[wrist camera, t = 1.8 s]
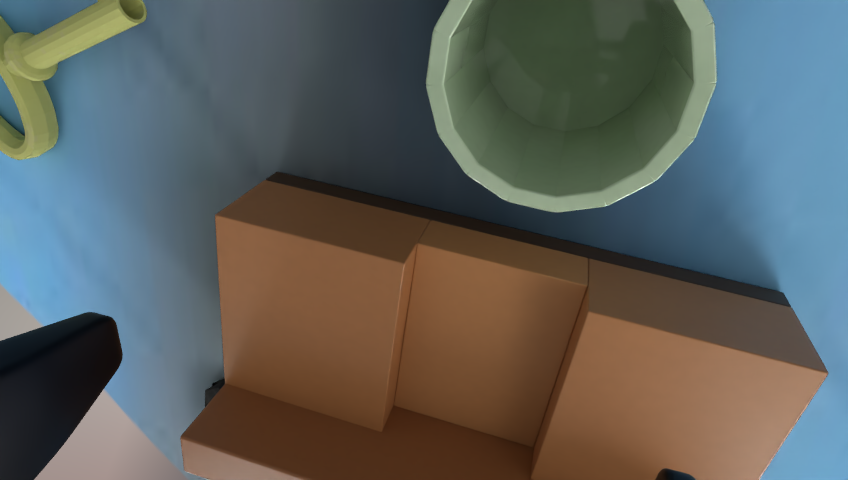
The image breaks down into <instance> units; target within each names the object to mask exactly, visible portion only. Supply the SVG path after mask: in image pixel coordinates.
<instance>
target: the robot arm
mask: <svg viewBox="0 0 848 480" xmlns="http://www.w3.org/2000/svg"><path fill="white" fill-rule="evenodd" d="M122 355H123V354H122V348H121V343H120V339H119V334H118V329H117V325H116V322H115V321H114V319H113V318H111V317H109V316H105V315H102V314H98V313H94V312H87V313H83V314H80V315H77V316H74V317H71V318H68V319H65V320H62V321H59V322H56V323H53V324H50V325H47V326H44V327H41V328H38V329H35V330H32V331H29V332H26V333H23V334H20V335H17V336H14V337H11V338H8V339H5V340H2V341H0V480H34V479H35V478H36V477H37V475H38V474H39V473H40V472H41V471H42V470H43V468H44V467H45V466H46V465H47V464H48V463H49V461H50V460H51V459H52V458H53V457H54V456H55V454H56V453H57V452H58V451H59V449H60V448H61V447H62V446H63V445H64V443H65V442H66V441H67V439H68V438H69V437H70V435H71V434H72V433H73V431H74V430H75V428H76V427H77V425H78V424H79V423H80V421H81V420H82V419H83V417H84V416H85V414H86V413H87V412H88V410H89V409H90V407H91V406H92V404H93V403H94V402H95V400H96V399H97V397H98V396H99V395H100V393H101V392H102V390H103V389H104V388H105V386H106V385H107V383H108V382H109V381H110V379H111V378H112V376H113V375H114V374H115V372H116V371H117V369H118V368H119V366H120V364H121V361H122ZM655 480H696V479H695V478H694V477H693V476H691V475H690V474H687V473H683V472H679V471H676V470H672V469H668V468H664V469H662V470H661V471H660V472H659V473H658V475H657V477H656V479H655Z"/></svg>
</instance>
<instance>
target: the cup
mask: <svg viewBox="0 0 848 480" xmlns="http://www.w3.org/2000/svg"><path fill="white" fill-rule="evenodd" d="M713 21H714V20H713V17H712V15H711V13H710V11H709V10H708V8H707V6H706V4H705V2H704V0H449V2H448V3H447V5H446V7H445V9H444V11H443V13H442V14H441V16H440V18H439V20H438V22H437V23H436V25H435V27H434V31H433V33H432V39H431V47H430V54H429V62H428V69H427V77H426V84H427V85H426V89H427V93H428V97H429V101H430V105H431V109H432V113H433V117H434V121H435V125H436V129H437V133H438V134H439V137H440V138H441V140H442V141H443V143H444V144H445V145H446V147H447V148H448V150H449V151H450V152H451V154H452V155H453V157H454V158H455V160H456V161H457V162H458V164H459V165H460V167H461V168H462V170H463V171H464V172H465V173H466V174H467V175H468V176H469V177H471V178H472V179H474V180H475V181H477V182H478V183H480V184H481V185H483V186H484V187H486V188H487V189H489V190H490V191H492V192H493V193H495V194H496V195H498V196H499V197H501V198H502V199H504V200H505V201H508V202H511V203H515V204H519V205H524V206H528V207H532V208H537V209H541V210H545V211H550V212H565V211H573V210H581V209H589V208H597V207H605V206H606V205H607V206H608V205H610V204H612V203H614V202H616V201H618V200H620V199H622V198H624V197H626V196H628V195H630V194H632V193H634V192H636V191H638V190H640V189H642V188H644V187H646V186H648V185H650V184H652V183H654V182H655V180H658V179H659V178H660V177H661V175H662V174H663V173H664V172H665V171H666V170H667V169H668V168H669V167H670V166H671V165H672V164H673V162H674V161H675V160H676V159H677V158H678V157H679V156H680V155H681V154H682V153H683V152H684V151H685V149H686V148H687V147H688V146H689V145H690V144H691V143H692V142H693V141H694V138H695V137H696V136H697V133H698V131H699V128H700V126H701V123H702V120H703V118H704V115H705V113H706V110H707V108H708V105H709V102H710V100H711V97H712V95H713V92H714V90H715V87H716V83H715V82H716V81H717V66H716V41H715V23H714V22H713Z"/></svg>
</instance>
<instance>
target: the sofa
mask: <svg viewBox="0 0 848 480" xmlns="http://www.w3.org/2000/svg"><path fill="white" fill-rule="evenodd" d="M215 224H216V241H217V258H218V274H219V291H220V308H221V325H222V342H223V358H224V375H225V384H224V386H223V387H222V388H221V389H220V390H219V392H218V393H217V394H216V395H215V396H214V397H213V399H212V400H211V401H210V402H209V403H208V405H207V406H206V407H205V408H204V409H203V410H202V412H201V413H200V414H199V415H198V416H197V418H196V419H195V420H194V421H193V422H192V424H191V425H190V426H189V427H188V428H187V429H186V431H185V432H184V433H183V434H182V435H181V438H180V439H181V447H182V456H183V464H184V470H185V471H186V472H189V473H191V474H194V475H197V476H200V477H203V478H206V479H209V480H655V479H656V477H657V475H658V473H659V472H660V471H661V470H662V469H664V468H668V469H672V470H676V471H679V472H683V473H687V474H690V475H691V476H693V477H694V478H695V479H696V480H759V479H760V478H761V476H762V475H763V473H764V472H765V470H766V468H767V467H768V465H769V464H770V462H771V461H772V459H773V458H774V456H775V455H776V453H777V452H778V450H779V449H780V447H781V446H782V444H783V442H784V441H785V439H786V438H787V436H788V435H789V433H790V432H791V430H792V429H793V427H794V426H795V424H796V423H797V421H798V420H799V418H800V416H801V415H802V413H803V412H804V410H805V409H806V407H807V406H808V404H809V403H810V401H811V400H812V398H813V397H814V395H815V394H816V392H817V390H818V389H819V387H820V386H821V384H822V383H823V381H824V380H825V378H826V377H827V375H828V371H827V369H826V367H825V365H824V364H823V362H822V360H821V358H820V357H819V355H818V353H817V351H816V349H815V348H814V346H813V344H812V342H811V341H810V339H809V337H808V335H807V333H806V332H805V330H804V328H803V326H802V325H801V323H800V321H799V319H798V317H797V316H796V314H795V312H794V310H793V309H792V308H791V306H790V304H789V302H788V300H787V298H786V297H785V295H784V293H782V292H779V291H775V290H770V289H766V288H762V287H758V286H754V285H749V284H745V283H741V282H737V281H733V280H729V279H724V278H720V277H716V276H712V275H708V274H703V273H699V272H695V271H691V270H687V269H682V268H678V267H674V266H670V265H666V264H662V263H657V262H653V261H649V260H645V259H641V258H636V257H632V256H628V255H624V254H620V253H615V252H611V251H607V250H603V249H599V248H594V247H590V246H586V245H582V244H578V243H574V242H569V241H565V240H561V239H557V238H553V237H548V236H544V235H540V234H536V233H532V232H527V231H523V230H519V229H515V228H511V227H506V226H502V225H498V224H494V223H490V222H486V221H481V220H477V219H473V218H469V217H465V216H460V215H456V214H452V213H448V212H444V211H439V210H435V209H431V208H427V207H423V206H418V205H414V204H410V203H406V202H402V201H398V200H393V199H389V198H385V197H381V196H377V195H372V194H368V193H364V192H360V191H356V190H351V189H347V188H343V187H339V186H335V185H330V184H326V183H322V182H318V181H314V180H310V179H305V178H301V177H297V176H293V175H289V174H284V173H280V172H276V173H274V174H273V175H271V176H270V177H269V178H267V179H266V180H264V181H263V182H261V183H260V184H258V185H257V186H255V187H254V188H253V189H251V190H250V191H248V192H247V193H245V194H244V195H243V196H241V197H240V198H238V199H237V200H236V201H234V202H233V203H231V204H230V205H228V206H227V207H226V208H224V209H223V210H221V211H220V212H218V213H217V214H216V215H215Z"/></svg>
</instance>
